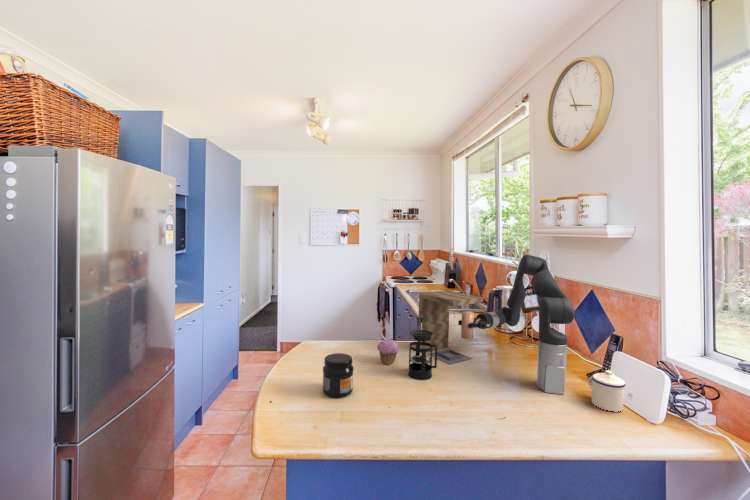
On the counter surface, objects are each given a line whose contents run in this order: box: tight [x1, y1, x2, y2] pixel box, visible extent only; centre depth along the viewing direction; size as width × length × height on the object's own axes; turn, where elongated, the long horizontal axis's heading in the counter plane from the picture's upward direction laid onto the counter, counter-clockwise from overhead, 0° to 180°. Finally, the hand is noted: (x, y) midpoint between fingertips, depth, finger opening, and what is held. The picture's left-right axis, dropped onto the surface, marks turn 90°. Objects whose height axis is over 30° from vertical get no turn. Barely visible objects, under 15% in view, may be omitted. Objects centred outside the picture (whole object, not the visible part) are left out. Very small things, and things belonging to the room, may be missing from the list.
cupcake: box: [377, 339, 399, 366], centre depth 144 cm, size 9×9×10 cm
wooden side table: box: [417, 290, 484, 354], centre depth 153 cm, size 18×22×28 cm
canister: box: [460, 310, 475, 340], centre depth 159 cm, size 6×6×12 cm
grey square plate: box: [427, 348, 473, 365], centre depth 153 cm, size 14×14×2 cm
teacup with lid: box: [587, 369, 626, 413], centre depth 112 cm, size 12×9×12 cm
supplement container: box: [322, 352, 355, 399], centre depth 116 cm, size 10×10×12 cm
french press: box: [407, 316, 438, 381], centre depth 132 cm, size 12×9×23 cm
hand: (463, 324), depth 157 cm, fingers closed on canister, 5 cm apart
